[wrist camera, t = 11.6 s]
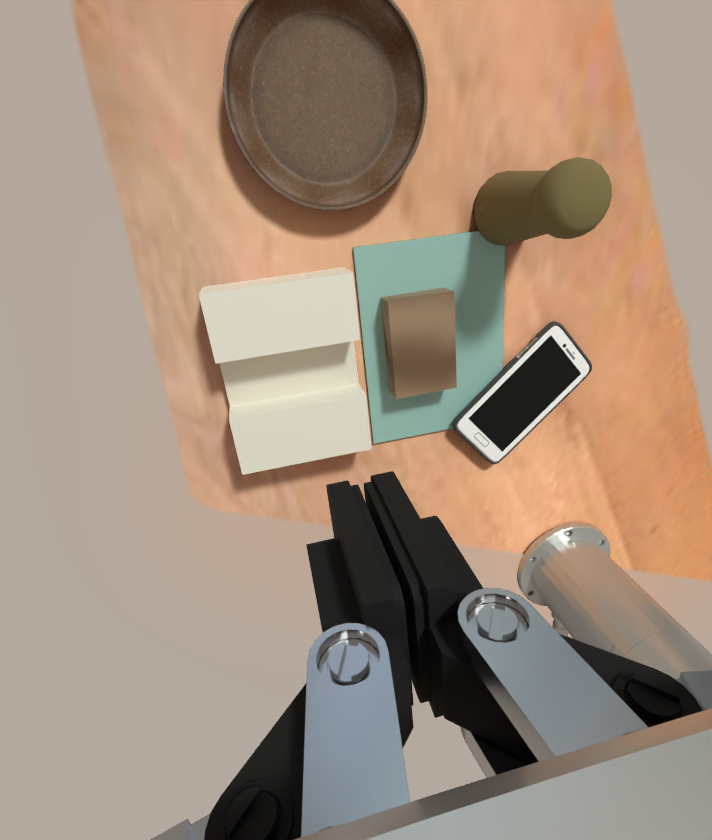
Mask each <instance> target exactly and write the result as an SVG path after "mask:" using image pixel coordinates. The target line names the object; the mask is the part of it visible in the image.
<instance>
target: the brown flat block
mask: <svg viewBox="0 0 712 840" xmlns="http://www.w3.org/2000/svg"><path fill="white" fill-rule="evenodd" d="M380 298H381V309H382V320H383V331H384V342H385V353H386V364H387V375H388V385H389V391H390V392H391V393H392V395H393V396H394V397H395V398H396V399H400V398H405V397H411V396H416V395H421V394H426V393H432V392H437V391H442V390H447V389H452V388H457V374H456V336H455V299H454V291H452V290H449V289H446V288H444V287H443V288H437V289H430V290H424V291H418V292H411V293H405V294H399V295H393V296H386V297H380Z"/></svg>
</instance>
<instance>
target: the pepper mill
mask: <svg viewBox="0 0 712 840" xmlns="http://www.w3.org/2000/svg"><path fill="white" fill-rule="evenodd" d="M611 197H612V190H611V182H610V179H609V176H608V174H607V173H606V171H605V170H604V169H603V167H602V166H601V165H600V164H598V163H597V162H595V161H594V160H591V159H585V158H579V157H577V158H573V159H568V160H565V161H562V162H560V163H558V164H557V165H555V166H554V167H552V168H551V169H550V170H548V171H506V172H502V173H497V174H496V175H494V176H493V177H491V178H489V179H488V180H487V181H486V182H485V184H484V185H483V186H482V187H481V189H480V191H479V193H478V195H477V197H476V200H475V207H474V217H475V224H476V226H477V228H478V231H479V233H480V234H481V235H482V236H483V237H484V238H485V240H487V241H489V242H491V243H492V244H494V245H502V246H505V245H509V244H513V243H516V242H520V241H523V240H527V239H530V238H534V237H538V236H541V235H545V234H549V235H551V236H553V237H555V238H563V239H571V238H575V237H579V236H582V235H584V234H586V233H588V232H589V231H591V230H592V229H594V228H595V227H596V226H597V225H598V223H599V222H600V221H601V220H602V219H603V217H604V216H605V214H606V212H607V210H608V208H609V205H610V201H611Z"/></svg>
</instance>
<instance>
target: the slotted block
mask: <svg viewBox="0 0 712 840" xmlns="http://www.w3.org/2000/svg"><path fill="white" fill-rule="evenodd" d="M199 298H200V302H201V306H202V311H203V315H204V319H205V323H206V327H207V331H208V335H209V339H210V344H211V348H212V352H213V356H214V360H215V364H216V363H220V367H221V371H222V376H223V380H224V384H225V388H226V392H227V397H228V401H229V405H230V412H229V422H230V426H231V430H232V434H233V439H234V443H235V447H236V451H237V455H238V459H239V463H240V467H241V472H242V475H244V474H249V473H254V472H259V471H264V470H269V469H274V468H279V467H284V466H289V465H294V464H299V463H304V462H309V461H315V460H320V459H325V458H330V457H335V456H340V455H345V454H350V453H355V452H360V451H365V450H370V449H372V448H371V439H370V429H369V420H368V410H367V401H366V394H365V393H364V391H363V390H362V388H361V387H360V385H359V383H358V374H357V365H356V356H355V347H354V341H357V340H360V335H359V325H358V316H357V306H356V297H355V287H354V278H353V272H351V271H349V270H347V269H346V268H344V267H342V268H335V269H328V270H320V271H313V272H306V273H299V274H292V275H285V276H278V277H270V278H263V279H256V280H249V281H242V282H235V283H227V284H220V285H213V286H206V287H202V289H201V291H200V293H199Z"/></svg>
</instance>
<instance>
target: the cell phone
mask: <svg viewBox="0 0 712 840" xmlns="http://www.w3.org/2000/svg"><path fill="white" fill-rule="evenodd" d="M591 370H592V364H591V362H590V361H589V359H588V358H587V357H586V355H585V354H584V353H583V351H582V350H581V349H580V347H579V346H578V345H577V343H576V342H575V341H574V339H573V338H572V337H571V336H570V334H569V333H568V332H567V330H566V329H565V328H564V327H563V326H562V325H561V324H560V323H558V322H555V321H553V322H550V323H549V324H548V325H547V326H545V327H544V328H543V329H542V330H541V331H540V332H539V333H538V334H537V335H536V336H535V338H534V339H533V340H532V342H531V343H530V344H529V345H528V346H527V347H526V348H525V349H524V350H523V351H522V352H521V353H520V354H519V355H518V356H517V357H516V356H515V357H514V358H513V359H512V361H511V362H510V363H509V364H508V365H507V366H506V367H505V368H504V369H503V370H502V371H501V372H500V373H499V374H498V375H497V376H496V377H495V378H494V379H493V380H492V381H491V382H490V383H489V384H488V385H487V386H486V387H485V388H484V389H483V390H482V391H481V392H480V393H479V394H478V395H477V396H476V397H475V398H474V399H473V400H472V401H471V402H470V403H469V404H468V405H467V406H466V407H465V408H464V409H463V411H462V412H461V413H460V414H459V415H458V416H457V417H456V418H455V419H454V421H453V423H452V426H453V428H454V429H455V431H456V432H457V433H458V434H459V435H460V436H461V437H462V438H464V439H465V440H466V441H467V442H468V443H469V444H470V445H471V446H472V447H473V448H474V449H475V450H476V451H477V452H478V453H480V454H481V455H482V456H483V457H484V458H485V459H486V460H487V461H488V462H490V463H492V464H497V463H499V462H500V461H501V460H502V459H504V458H505V457H506V456H507V455H508V454H509V453H510V452H511V451H512V450H513V449H514V448H515V447H516V446H517V445H518V444H519V443H520V442H521V441H522V440H523V439H524V438H525V437H526V436H527V435H528V434H529V433H530V432H531V431H532V430H533V429H534V428H535V427H536V426H537V425H538V424H539V423H540V422H541V421H542V420H543V419H544V418H545V417H546V416H547V415H548V414H549V413H550V412H551V411H552V410H553V409H555V408H556V407H557V406H558V405H559V404H560V403H561V402H562V401H563V400H564V399H565V398H566V397H567V396H568V395H569V394H570V393H571V392H572V391H573V390H574V389H575V388H576V387H577V386H578V385H579V384H580V383H581V382H582V381H583V380H584V379H585V378H586V377H587V376H588V374H589V373H590V372H591ZM552 408H553V409H552Z"/></svg>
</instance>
